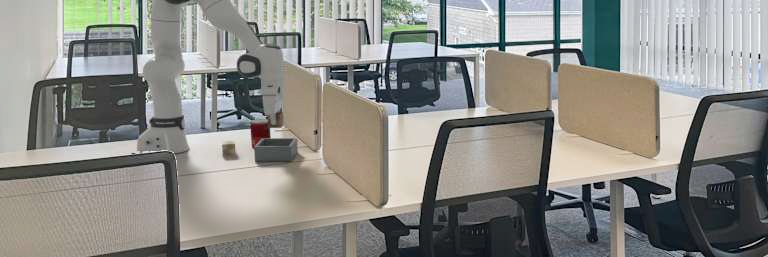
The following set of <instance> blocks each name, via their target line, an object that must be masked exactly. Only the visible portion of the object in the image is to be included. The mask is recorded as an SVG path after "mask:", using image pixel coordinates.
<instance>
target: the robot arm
mask: <svg viewBox="0 0 768 257" xmlns="http://www.w3.org/2000/svg"><path fill="white" fill-rule="evenodd" d="M191 5H198V6H199V7H200V9H201V11H202V12H203V14H204V16H205V17H206V19H207V21H208V22H209V23H210V25H212V26H213V27H214V28H216V29H217V30H221V31H225V32H227V33H230V34H232V35H234V36H236V37H237V38H238V39H239V40H240V41H241V43H242V45H244V47H245V48H246V50H247V51H248V52H246V53H244V54H242V55H240V56H239V57H238V58H237V59H236V60H237V61H236V69H237V72H238V73H239V75H240V76H241V77H243V78H245V79H253V78H260V83H261V84H260V95H261V96H262V99H261V100H262V106H263V112H264V114H265V116H267V115H270V119H271V124H272V125H275V124H276V113H277V112H281V109H282V108H283V106H284V104H285V100H284V92H285V91H286V82H285V80H286V79H285V75H284V67H285V64H284V63H285V62H284V56H283V51H282V48H281V47H280V46H279V45H277V44H273V43H263V42H262V40H261V39H260V38H259V37H258V35H257V34H256V32H255V31H254V29H253V28H252V27H251V26H250V24H249V22H248V21H247V20H246V19H245V18H244V16H242V15H241V13H240V12H239V11H238V10H237V8H236V7H235V6H234V4H233V3H232V1H231V0H152V6H151V15H150V41H151V43H152V45H153V51H154V57H152V58H150V59H148V60H147V61H146V63H145V64H144V65H143V67H142V75H143V78H144V79H145V81H146V82H147V85H148V88H149V91H150V95H151V100H152V106H153V108H152V109H153V116H152V117H151V118H150V119H149V120H148V124H150V126H149V127H148V128H147V129H146V130H144V131H143V133H141V134H140V135H139V136H138V137H137V142H136V147H134V148H133V149H132V150H136V151H140V153H142V152H143V151H149V152H150V151H161V150H168V151H172V152H174V153H175V154H179V153H184V152H187V151H188V150H190V146H189V143H188V141H187V135H186V131H185V128H186V122H185V117H184V114H183V104H182V103H183V102H182V96H181V94H180V92H179V90H178V87H177V83H176V80H177V79H178V78H179V77H180V76H181V75H182V74H183V73H184V70H185V68H186V66H185V61H184V59H183V54H182V47H181V46H182V45H181V11H182V9H183V7H184V6H188V7H189V6H191Z"/></svg>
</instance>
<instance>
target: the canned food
mask: <svg viewBox="0 0 768 257" xmlns="http://www.w3.org/2000/svg"><path fill="white" fill-rule="evenodd" d="M262 138H271V128H268V119H267V118H254V119H251V120H250V142H251V147H252V148H253V149H254V146H255V145H256V144H257V143H258V142H259V141H260V140H261V139H262Z"/></svg>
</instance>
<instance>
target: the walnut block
mask: <svg viewBox="0 0 768 257" xmlns="http://www.w3.org/2000/svg"><path fill="white" fill-rule="evenodd" d="M266 119H268V128H270V129H281V128H282V127H283V126H284V112H281V111H280V112H277V113H276V124H275V125H272V124H271V119H270V115H266Z"/></svg>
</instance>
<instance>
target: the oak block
mask: <svg viewBox="0 0 768 257" xmlns="http://www.w3.org/2000/svg"><path fill="white" fill-rule="evenodd" d="M221 149H222V157H225V158H226V157H236V156H237V152H236V140H225V141H221Z"/></svg>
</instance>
